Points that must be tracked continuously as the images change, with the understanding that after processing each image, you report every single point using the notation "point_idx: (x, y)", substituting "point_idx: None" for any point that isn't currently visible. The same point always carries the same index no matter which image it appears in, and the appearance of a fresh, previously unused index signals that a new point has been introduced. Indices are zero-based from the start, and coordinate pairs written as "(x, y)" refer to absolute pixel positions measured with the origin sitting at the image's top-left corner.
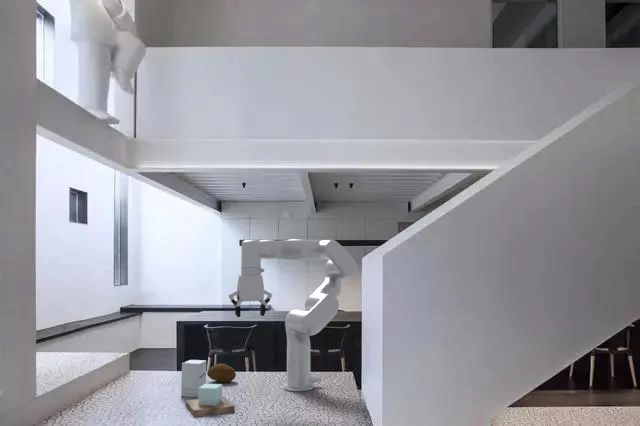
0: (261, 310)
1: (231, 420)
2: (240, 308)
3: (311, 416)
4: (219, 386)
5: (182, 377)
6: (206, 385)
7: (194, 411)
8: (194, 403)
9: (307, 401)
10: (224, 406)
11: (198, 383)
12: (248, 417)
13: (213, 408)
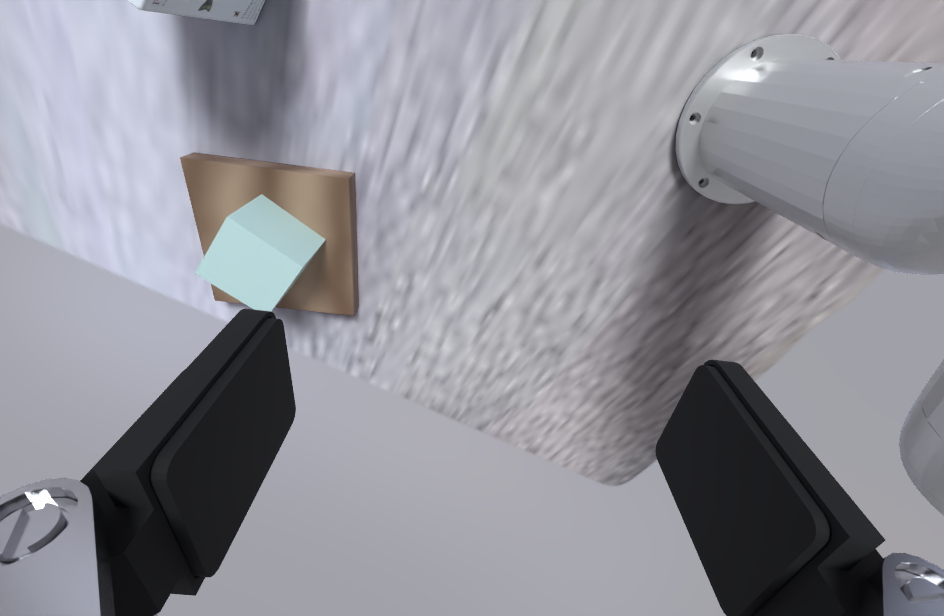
0: (711, 485)
1: (330, 366)
2: (228, 547)
3: (533, 426)
4: (286, 290)
5: None
6: (231, 252)
7: (218, 298)
8: (217, 220)
9: (623, 318)
10: (320, 306)
11: (216, 18)
12: (381, 365)
13: (281, 307)
